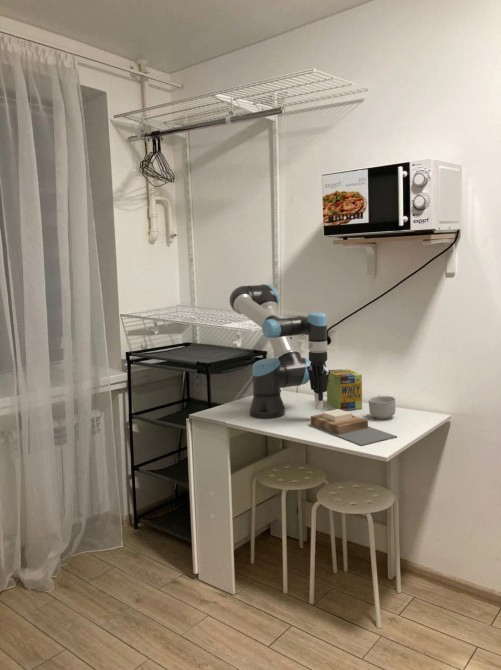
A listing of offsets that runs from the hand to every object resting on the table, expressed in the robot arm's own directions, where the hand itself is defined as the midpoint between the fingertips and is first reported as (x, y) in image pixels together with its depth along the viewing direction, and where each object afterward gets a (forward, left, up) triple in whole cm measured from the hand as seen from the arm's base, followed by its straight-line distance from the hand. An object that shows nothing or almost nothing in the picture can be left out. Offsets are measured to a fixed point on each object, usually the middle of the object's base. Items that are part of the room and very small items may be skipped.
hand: (319, 407), depth 237 cm
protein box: (-10, +22, -5) cm, 24 cm away
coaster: (+12, 0, -1) cm, 12 cm away
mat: (+21, 0, -5) cm, 21 cm away
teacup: (+12, +24, -5) cm, 27 cm away
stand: (+13, 0, -5) cm, 14 cm away
